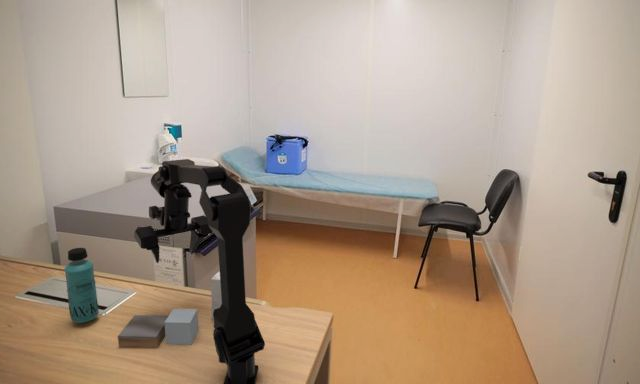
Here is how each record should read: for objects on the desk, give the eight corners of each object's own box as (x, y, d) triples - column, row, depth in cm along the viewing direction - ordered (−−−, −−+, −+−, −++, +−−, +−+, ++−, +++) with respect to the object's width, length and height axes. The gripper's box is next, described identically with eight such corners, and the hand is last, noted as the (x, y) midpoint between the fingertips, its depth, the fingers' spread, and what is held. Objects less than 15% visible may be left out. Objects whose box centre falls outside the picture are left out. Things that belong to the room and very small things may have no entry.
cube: (191, 344, 95) (189, 322, 94) (166, 344, 95) (164, 322, 93) (198, 330, 101) (197, 309, 99) (174, 329, 101) (173, 308, 99)
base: (157, 347, 93) (156, 336, 93) (119, 347, 93) (117, 336, 93) (171, 325, 102) (170, 315, 101) (135, 325, 102) (134, 314, 101)
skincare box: (227, 322, 104) (225, 280, 101) (211, 320, 105) (210, 278, 102) (236, 310, 110) (235, 270, 107) (221, 308, 111) (220, 268, 108)
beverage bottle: (65, 323, 102) (54, 251, 97) (90, 311, 108) (81, 242, 103) (81, 331, 99) (70, 257, 94) (106, 318, 105) (97, 247, 100)
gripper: (198, 187, 110) (195, 234, 117) (126, 198, 99) (127, 250, 105) (216, 206, 103) (212, 255, 110) (141, 219, 91) (142, 273, 98)
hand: (174, 257), depth 106 cm, fingers open, 9 cm apart
